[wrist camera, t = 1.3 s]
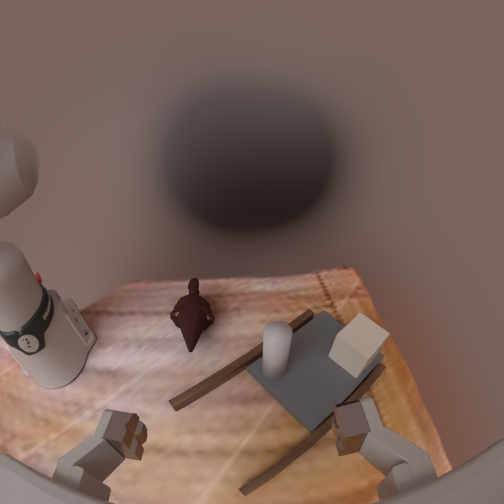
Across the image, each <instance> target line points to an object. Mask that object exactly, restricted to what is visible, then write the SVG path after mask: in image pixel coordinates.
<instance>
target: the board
mask: <svg viewBox="0 0 504 504" xmlns="http://www.w3.org/2000/svg"><path fill="white" fill-rule="evenodd" d="M344 327H345V326H343V325H342V324H341V323H339V322H338V321H337V320H335V319H334V318H333V317H331V316H330V315H329V314H327V313H326V312H325V311H322V312H321V313H319V314H318V315H317V316H316V317H314V318H313V319H312V320H310V321H309V322H308V323H307V324H305V325H304V326H303V327H301V328H300V329H299V330H298V331H296V332H295V333H294V334H292V333H293V332H292V328H291V327H290V326H289V325H288V324H287V323H285V322H283V321H273V322H270V323H268V324H267V325H266V326H265V328H264V335H263V356H262V357H261V358H259V359H258V360H256V361H255V362H253V363H252V364H250V365H249V366H247V371H248V372H249V373H250V374H251V375H252V376H253V377H254V378H255V379H256V380H257V381H258V382H259V383H260V384H261V385H262V386H263V387H264V388H265V389H266V390H267V391H268V392H269V393H270V394H271V395H272V396H273V397H274V398H275V399H276V400H277V401H278V402H279V403H280V404H281V405H282V406H283V407H284V408H285V409H286V410H287V411H288V412H290V413H291V414H292V415H293V416H294V417H295V418H296V419H297V420H298V421H299V422H300V423H301V424H302V425H304V426H305V427H306V428H307V429H308V430H309V431H310V432H312V431H313V430H314V429H315V428H316V427H317V426H319V425H320V424H321V423H322V422H323V421H324V420H325V419H326V418H327V417H328V416H329V415H330V414H331V413H332V412H333V408H334V405H337V404H341V403H342V402H343V401H344V400H345V399H346V398H347V397H348V396H349V395H350V394H351V393H352V392H353V391H354V390H355V389H356V388H357V387H358V386H359V384H360V383H361V382H362V381H363V380H364V379H365V378H366V377H367V376H368V374H369V373H370V372H371V371H372V370H373V369H374V367H375V366H376V365H377V364H378V363H379V361H380V360H381V359H382V358H383V356H384V355H382V354H381V353H380V352H379V353H378V354H377V356H376V357H375V358H374V359H373V360H372V362H371V363H370V364H369V365H368V366H367V367H366V368H365V370H364V371H363V372H362V373H361V374H360V375H359V376H358V377H357V378H355V377H353V376H352V375H351V374H350V373H348V372H347V371H346V370H345V369H343V368H342V367H341V366H340V365H339V364H337V363H336V362H335V361H334V360H332V359H331V358H330V357H329V356H328V355H329V353H330V350H331V348H332V345H333V343H334V340H335V338H336V335H337V334H338V333H339V332H340V331H341V330H342V329H343V328H344Z"/></svg>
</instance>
